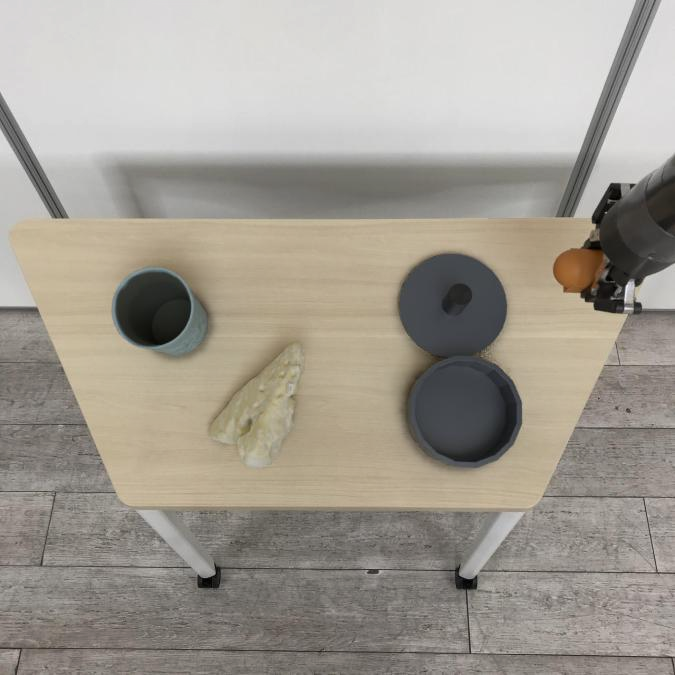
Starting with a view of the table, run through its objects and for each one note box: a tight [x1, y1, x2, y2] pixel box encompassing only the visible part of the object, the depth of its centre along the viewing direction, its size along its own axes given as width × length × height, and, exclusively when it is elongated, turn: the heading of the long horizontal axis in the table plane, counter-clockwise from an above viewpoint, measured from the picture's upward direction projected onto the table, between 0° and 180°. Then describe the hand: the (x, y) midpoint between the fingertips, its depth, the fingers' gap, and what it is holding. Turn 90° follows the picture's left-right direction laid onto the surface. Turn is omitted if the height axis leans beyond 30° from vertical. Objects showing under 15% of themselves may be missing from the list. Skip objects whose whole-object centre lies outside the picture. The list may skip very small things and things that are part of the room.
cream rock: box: [207, 341, 306, 469], centre depth 80 cm, size 15×7×15 cm
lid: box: [398, 253, 508, 359], centre depth 82 cm, size 15×15×7 cm
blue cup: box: [110, 266, 209, 356], centre depth 80 cm, size 10×10×12 cm
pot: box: [405, 355, 523, 469], centre depth 80 cm, size 14×14×6 cm
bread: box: [552, 247, 604, 294], centre depth 68 cm, size 9×4×4 cm, turn 87°
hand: (588, 274), depth 70 cm, fingers closed on bread, 4 cm apart
